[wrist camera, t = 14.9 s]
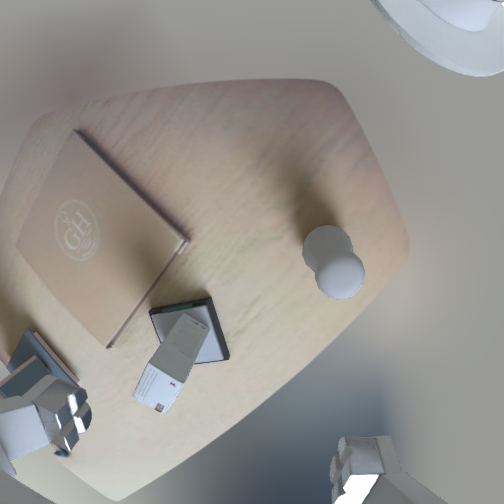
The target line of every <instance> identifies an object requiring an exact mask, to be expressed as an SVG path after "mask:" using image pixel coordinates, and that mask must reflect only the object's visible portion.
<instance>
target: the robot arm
mask: <svg viewBox="0 0 504 504" xmlns="http://www.w3.org/2000/svg"><path fill="white" fill-rule="evenodd" d="M417 1H419V2H421V3H422V4H423V5H425V6H426V7H427V8H428V9H429V10H430V11H432V12H433V13H434V14H435V15H437V16H438V17H439V18H441V19H442V20H444V21H445V22H447V23H449V24H450V25H452V26H454V27H457V28H459V29H462V30H465V31H471V32H478V31H482V30H484V29H485V28H486V27H487V26H488V25H489V23H490V20H491V18H492V17H493V15H494V14H495V12H496V11H497V10H498V8H499V7H500V6H501V5H502V4H503V5H504V0H417ZM87 398H88V396H87V393H86V390H85V389H83V388H81V387H79V386H76V385H74V384H72V383H69V382H67V381H64V380H62V379H59V378H57V377H55V376H53V375H46V376H44V377H43V378H42V379H41V380H40V381H39V382H38V383H36V384H35V385H34V386H33V387H32V388H31V389H30V390H28V391H27V392H26V393H25V394H24V395H23V396H22V397H21V396H19V395H18V396H14V397H9V398H5V399H1V400H0V504H56V503H54V502H53V501H51V500H49V499H47V498H45V497H43V496H42V495H40V494H39V493H37V492H35V491H34V490H32V489H30V488H29V487H27V486H25V485H24V484H22V483H21V482H19V481H18V480H16V479H15V478H14V477H15V475H16V470H15V468H14V467H13V465H12V463H11V462H10V461H12V460H15V459H17V458H19V457H22V456H24V455H26V454H29V453H31V452H33V451H35V450H38V449H40V448H42V447H44V446H47V445H49V444H50V443H52V444H54V445H57V446H59V447H61V448H63V449H65V450H68V451H71V449H72V448H73V447H74V446H75V444H76V443H77V442H78V440H79V434H80V433H83V432H85V431H86V430H87V429H88V427H89V425H90V422H91V419H92V412H91V408H90V406H89V405H88V404H87V403H86V400H87ZM338 449H339V451H338V452H337V453H335V454H334V456H333V459H332V461H331V467H330V481H331V482H332V483H333V484H334V487H333V489H332V491H331V496H332V504H448V503H447V502H445V501H444V500H442V499H441V498H440V497H438V496H437V495H436V494H434V493H433V492H431V491H430V490H429V489H428V488H426V487H425V486H424V485H422V484H421V483H419V482H418V481H417V480H416V479H414V478H413V477H412V476H411V475H409V474H408V473H402V470H401V467H400V463H399V460H398V457H397V454H396V451H395V448H394V445H393V442H392V439H391V437H390V436H374V437H373V436H365V437H363V436H362V437H342V438H341V439H340V441H339V443H338Z"/></svg>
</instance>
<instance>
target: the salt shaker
mask: <svg viewBox="0 0 504 504" xmlns="http://www.w3.org/2000/svg"><path fill="white" fill-rule="evenodd" d="M302 255H303V257H304V260H305V263H306V265H307V266H308V267H309V268H311V269H312V270H313V271H314V272H315V279H316V282H317V285H318V287H319V289H320V290H321V291H322V292H323V293H324V294H326V295H327V296H328V297H330V298H333V299H337V300H341V299H346V298H350V297H351V296H353V295H354V294H356V293H357V292H358V291H359V289H360V288H361V286H362V285H363V283H364V277H365V270H364V267H363V264H362V261H361V260H360V259H359V258H358V257H357V256H356V255H355V254H354V253H353V246H352V243H351V240H350V238H349V236H348V235H347V234H346V233H345V232H344V231H343V230H342V229H341V228H339V227H336V226H332V225H325V226H318V227H317V228H315V229H314V230H312V231H311V232H310V233H309V234H308V236H307V237H306V239H305V241H304V242H303V252H302Z"/></svg>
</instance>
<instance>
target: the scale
mask: <svg viewBox="0 0 504 504" xmlns="http://www.w3.org/2000/svg"><path fill="white" fill-rule="evenodd" d="M182 313H186V314H188V315H189V316H191V317H193V318H194V319H196V320H198V321H199V322H201V323H203V324H204V325H206V326H207V327H209V328H210V331H209V333H208V335H207V337H206V339H205V341H204V343H203V346H202V348H201V350H200V352H199V354H198V356H197V358H196V360H195V362H194V364H201V363H209V362H217V361H224V360H229V357H230V354H229V351H228V348H227V345H226V342H225V339H224V336H223V333H222V330H221V327H220V324H219V320H218V317H217V314H216V311H215V308H214V305H213V301H212V298H211V297H209V298H203V299H198V300H193V301H188V302H183V303H177V304H172V305H167V306H161V307H156V308H151V309H150V310H149V314H150V317H151V320H152V322H153V325H154V328H155V330H156V333H157V336H158V338H159V341H160V343H162V342H163V340H164V339H165V337H166V336H167V335H168V333H169V332H170V330H171V329H172V328H173V326H174V325H175V323H176V322H177V320H178V319H179V317H180V316H181V315H182Z"/></svg>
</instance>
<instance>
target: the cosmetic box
mask: <svg viewBox="0 0 504 504" xmlns="http://www.w3.org/2000/svg"><path fill="white" fill-rule="evenodd" d="M209 331H210V328H209V327H207V326H206V325H204V324H203V323H201V322H199V321H198V320H196V319H194V318H193V317H191V316H189V315H188V314H186V313H182V315H181V316H180V317H179V319H178V320H177V322H176V323H175V325H174V326H173V328H172V329H171V330H170V332H169V333H168V335H167V336H166V337H165V339H164V340H163V342H162V343H161V345H160V346H159V348H158V349H157V351H156V352H155V354H154V355H153V357H152V358H151V359H150V361H149V362H148V363H147V366H146V368H145V370H144V372H143V374H142V376H141V378H140V381H139V383H138V385H137V387H136V389H135V391H134V394H133V397H134V398H136V399H137V400H139V401H141V402H142V403H144V404H146V405H147V406H149V407H151V408H153V409H154V410H156V411H158V412H160V413H162V414H165V413H166V412H167V410H168V409H169V407H170V405H171V404H172V403H173V402H174V400H175V398H176V396H177V395H178V393H179V392H180V390H181V388H182V387H183V385H184V383H185V381H186V379H187V377H188V375H189V373H190V371H191V369H192V367H193V364H194V362H195V360H196V358H197V356H198V354H199V352H200V350H201V348H202V346H203V343H204V341H205V339H206V337H207V335H208V333H209Z"/></svg>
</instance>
